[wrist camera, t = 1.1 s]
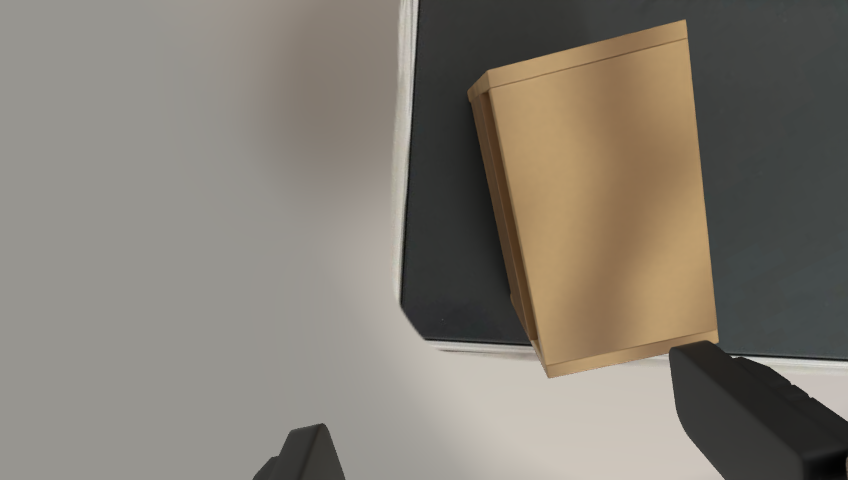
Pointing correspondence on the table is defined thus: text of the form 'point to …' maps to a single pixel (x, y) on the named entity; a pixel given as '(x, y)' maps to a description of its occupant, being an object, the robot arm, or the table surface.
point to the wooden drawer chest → (600, 198)
